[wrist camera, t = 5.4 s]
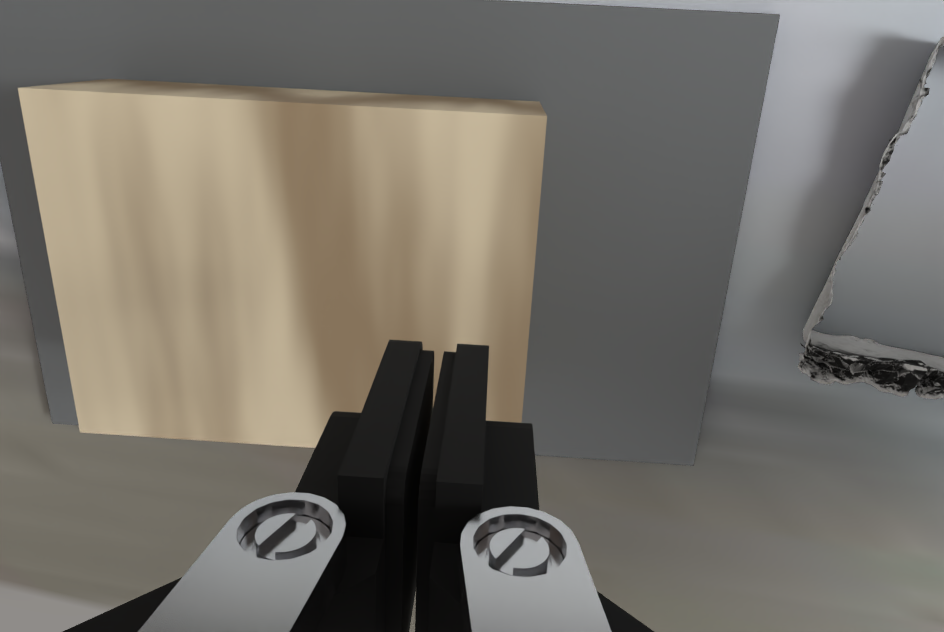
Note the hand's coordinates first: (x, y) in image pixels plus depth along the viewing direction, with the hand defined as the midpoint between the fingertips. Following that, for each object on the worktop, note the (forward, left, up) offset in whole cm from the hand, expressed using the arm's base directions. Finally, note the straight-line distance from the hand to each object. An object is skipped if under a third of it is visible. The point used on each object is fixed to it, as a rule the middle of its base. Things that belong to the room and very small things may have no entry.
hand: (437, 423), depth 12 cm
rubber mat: (+3, 0, -11) cm, 11 cm away
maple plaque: (-2, 0, -8) cm, 8 cm away
